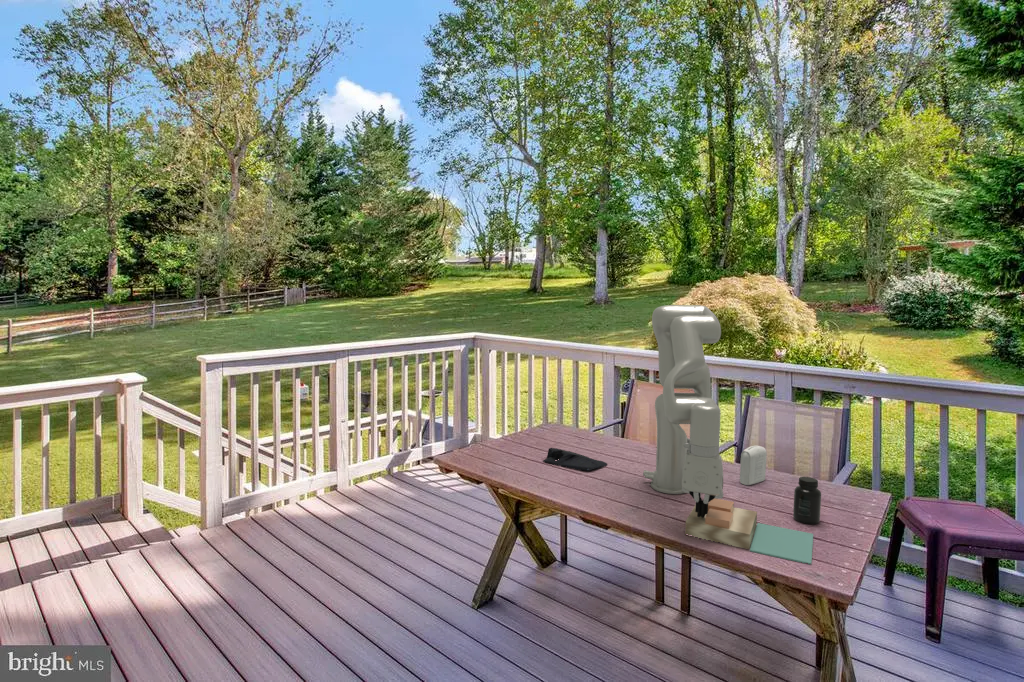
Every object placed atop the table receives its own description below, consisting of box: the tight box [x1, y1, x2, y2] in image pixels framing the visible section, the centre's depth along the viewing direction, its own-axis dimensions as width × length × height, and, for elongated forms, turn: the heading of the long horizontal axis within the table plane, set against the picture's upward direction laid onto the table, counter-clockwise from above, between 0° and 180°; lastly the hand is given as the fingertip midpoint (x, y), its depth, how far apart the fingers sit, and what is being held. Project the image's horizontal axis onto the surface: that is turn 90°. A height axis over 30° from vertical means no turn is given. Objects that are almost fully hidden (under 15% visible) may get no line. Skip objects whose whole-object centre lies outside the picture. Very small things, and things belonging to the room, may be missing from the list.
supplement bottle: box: [792, 476, 822, 525], centre depth 160 cm, size 7×7×12 cm
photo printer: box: [739, 445, 768, 486], centre depth 190 cm, size 10×4×12 cm, turn 123°
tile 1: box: [708, 498, 735, 513], centre depth 157 cm, size 6×6×2 cm
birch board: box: [684, 502, 758, 550], centre depth 154 cm, size 16×16×4 cm
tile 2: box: [705, 509, 733, 529], centre depth 150 cm, size 6×6×2 cm
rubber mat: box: [749, 522, 814, 565], centre depth 147 cm, size 14×18×1 cm
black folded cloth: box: [542, 447, 608, 472], centre depth 210 cm, size 15×22×5 cm
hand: (701, 515), depth 152 cm, fingers closed
